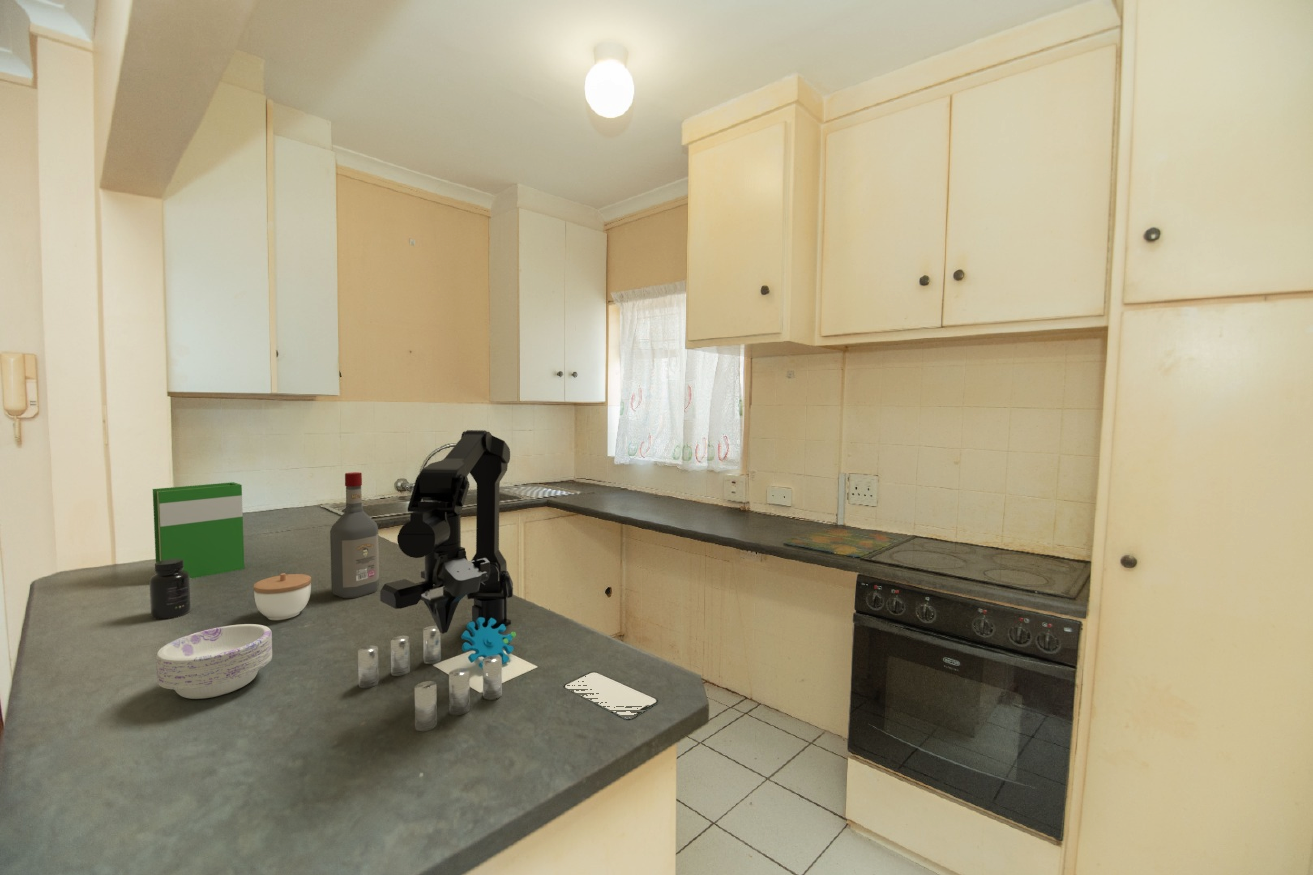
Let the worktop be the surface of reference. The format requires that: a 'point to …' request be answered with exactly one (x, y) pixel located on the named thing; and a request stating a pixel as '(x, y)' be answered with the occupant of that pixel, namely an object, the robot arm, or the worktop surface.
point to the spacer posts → (428, 689)
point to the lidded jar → (282, 595)
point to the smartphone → (611, 693)
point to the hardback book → (200, 527)
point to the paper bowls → (214, 660)
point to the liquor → (354, 546)
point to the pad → (509, 669)
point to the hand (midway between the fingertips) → (443, 632)
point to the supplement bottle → (170, 590)
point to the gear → (487, 641)
